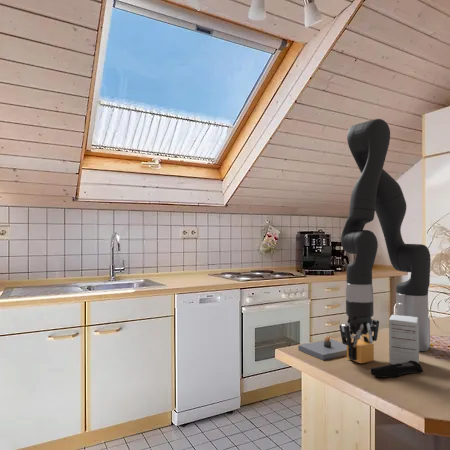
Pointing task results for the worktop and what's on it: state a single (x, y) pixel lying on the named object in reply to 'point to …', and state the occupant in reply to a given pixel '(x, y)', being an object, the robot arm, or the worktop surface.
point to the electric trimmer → (397, 369)
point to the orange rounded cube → (363, 352)
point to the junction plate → (324, 349)
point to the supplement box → (403, 339)
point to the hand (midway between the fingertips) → (360, 357)
